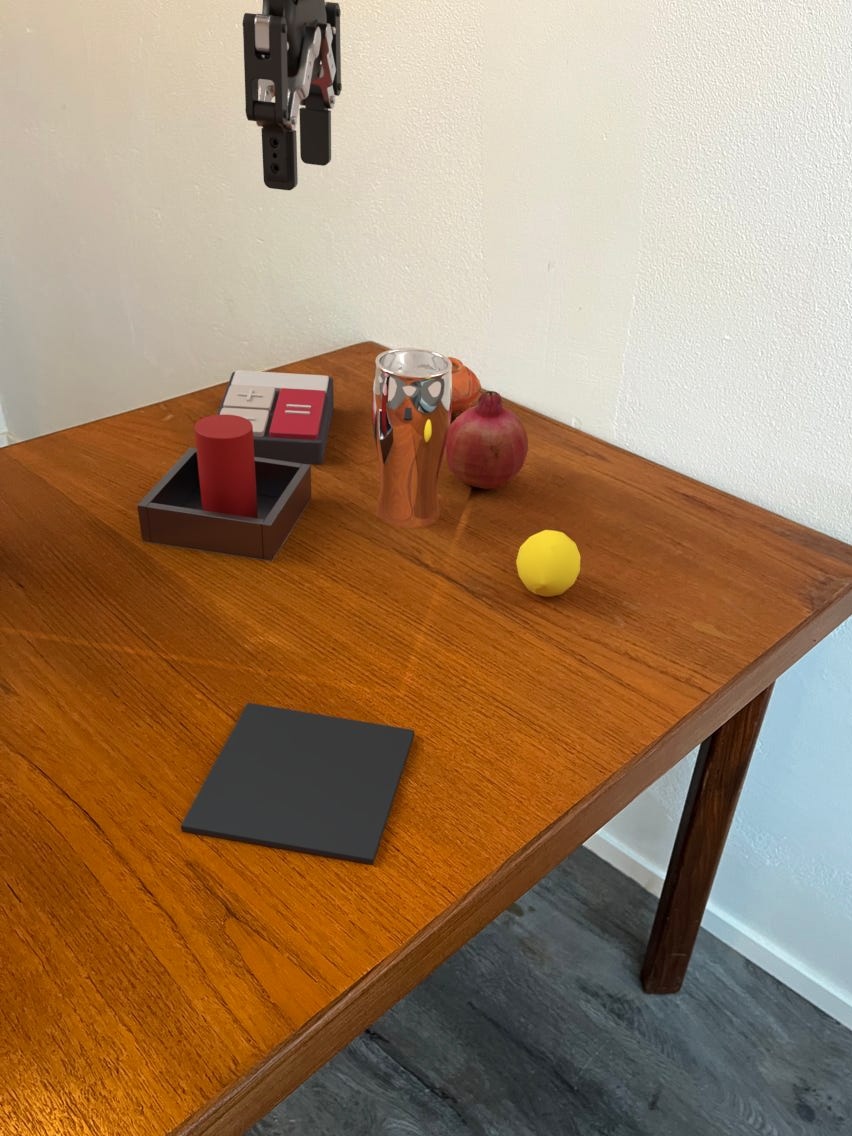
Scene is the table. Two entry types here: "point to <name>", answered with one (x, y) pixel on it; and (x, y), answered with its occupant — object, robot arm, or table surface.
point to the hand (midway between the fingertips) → (299, 175)
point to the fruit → (486, 444)
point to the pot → (463, 386)
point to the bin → (183, 523)
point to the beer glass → (410, 433)
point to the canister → (226, 465)
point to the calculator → (283, 413)
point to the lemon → (548, 563)
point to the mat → (303, 783)
